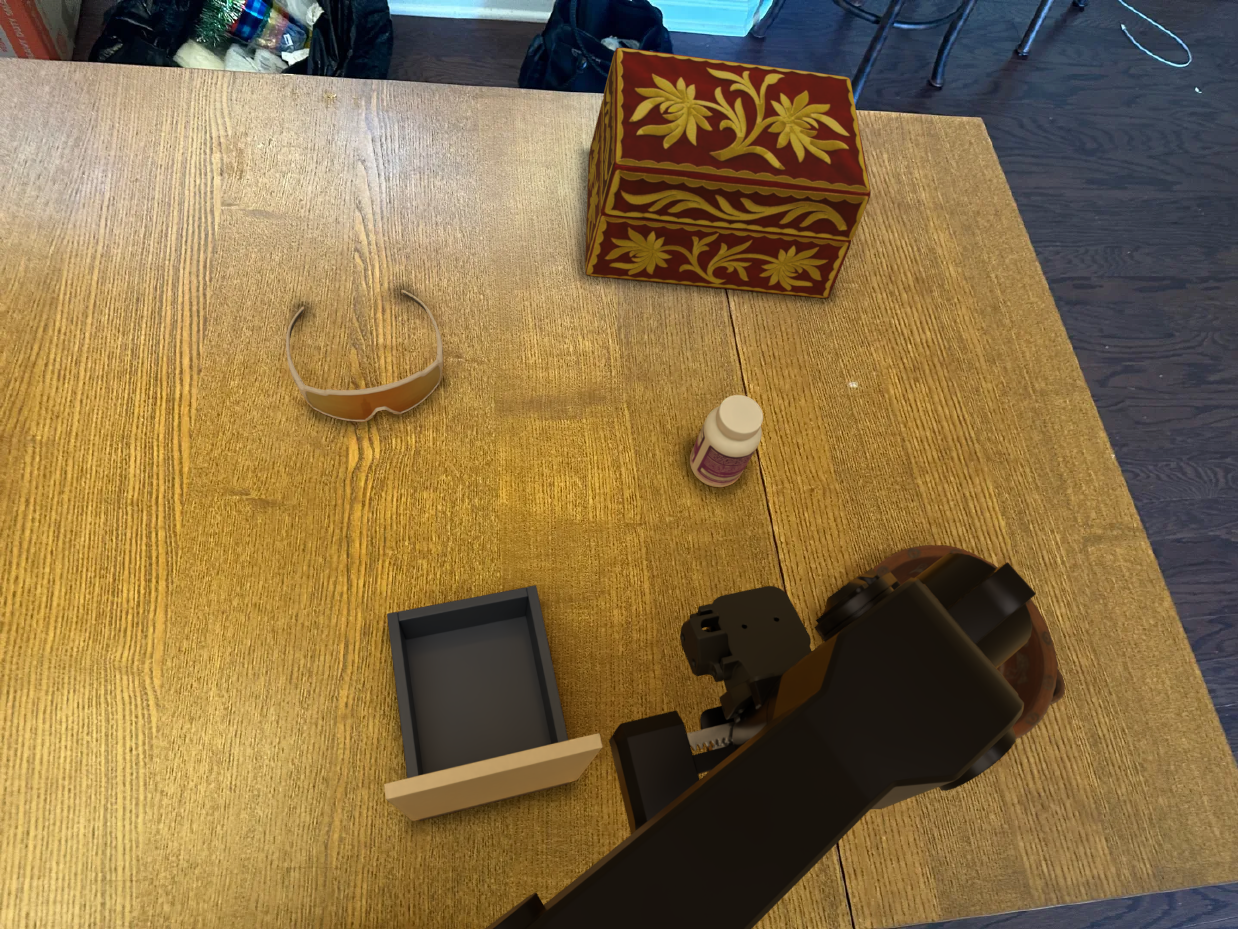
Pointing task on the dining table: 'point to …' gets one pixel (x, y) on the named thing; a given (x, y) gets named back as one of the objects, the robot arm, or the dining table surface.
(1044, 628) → the dish
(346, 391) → the sunglasses
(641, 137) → the decorative box
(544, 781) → the lid
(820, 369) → the dining table surface
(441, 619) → the box
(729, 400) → the pill bottle
